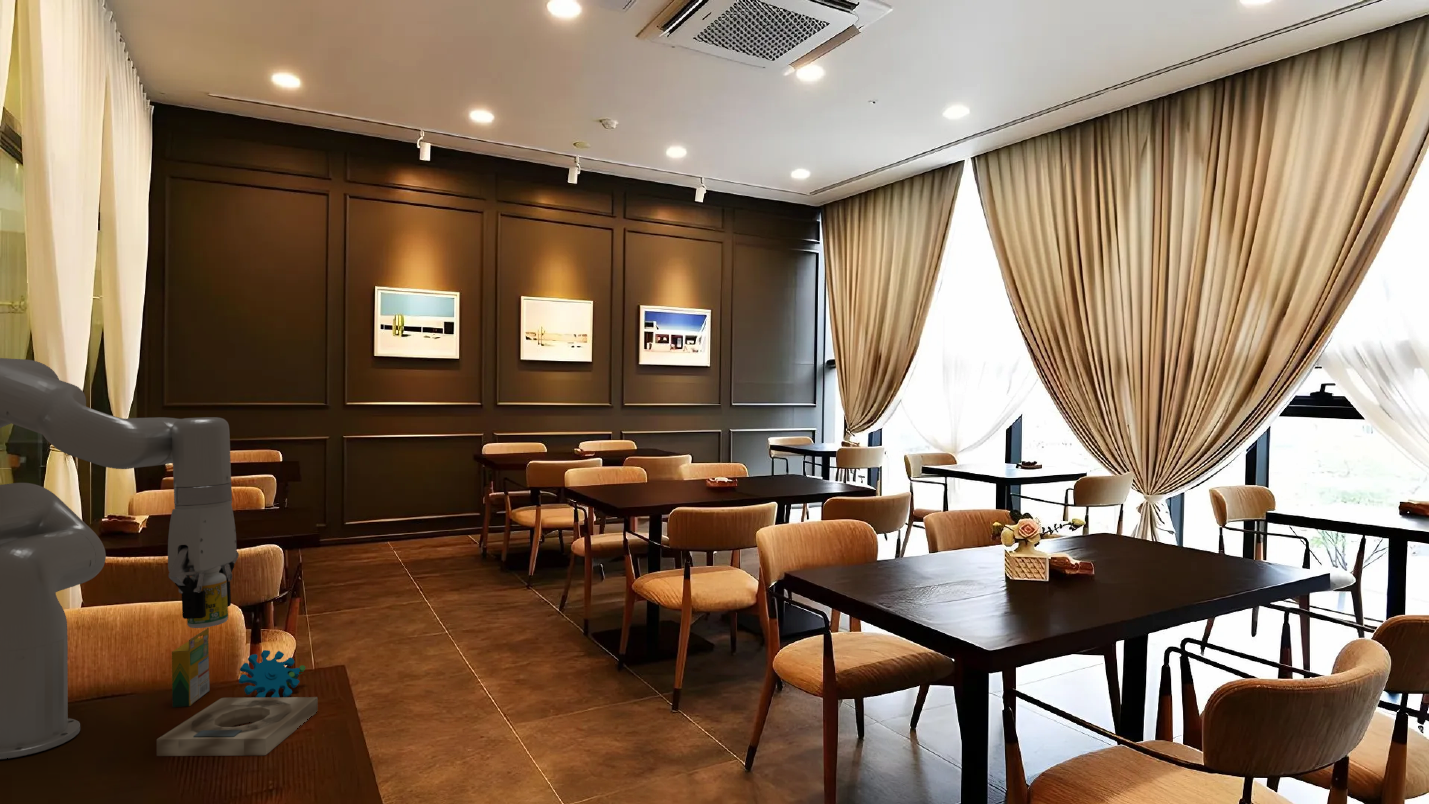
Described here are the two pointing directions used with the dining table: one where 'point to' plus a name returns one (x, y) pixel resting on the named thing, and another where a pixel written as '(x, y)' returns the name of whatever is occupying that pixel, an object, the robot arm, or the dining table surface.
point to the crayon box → (190, 670)
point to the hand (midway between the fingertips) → (207, 611)
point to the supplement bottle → (212, 599)
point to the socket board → (238, 727)
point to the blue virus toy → (270, 675)
